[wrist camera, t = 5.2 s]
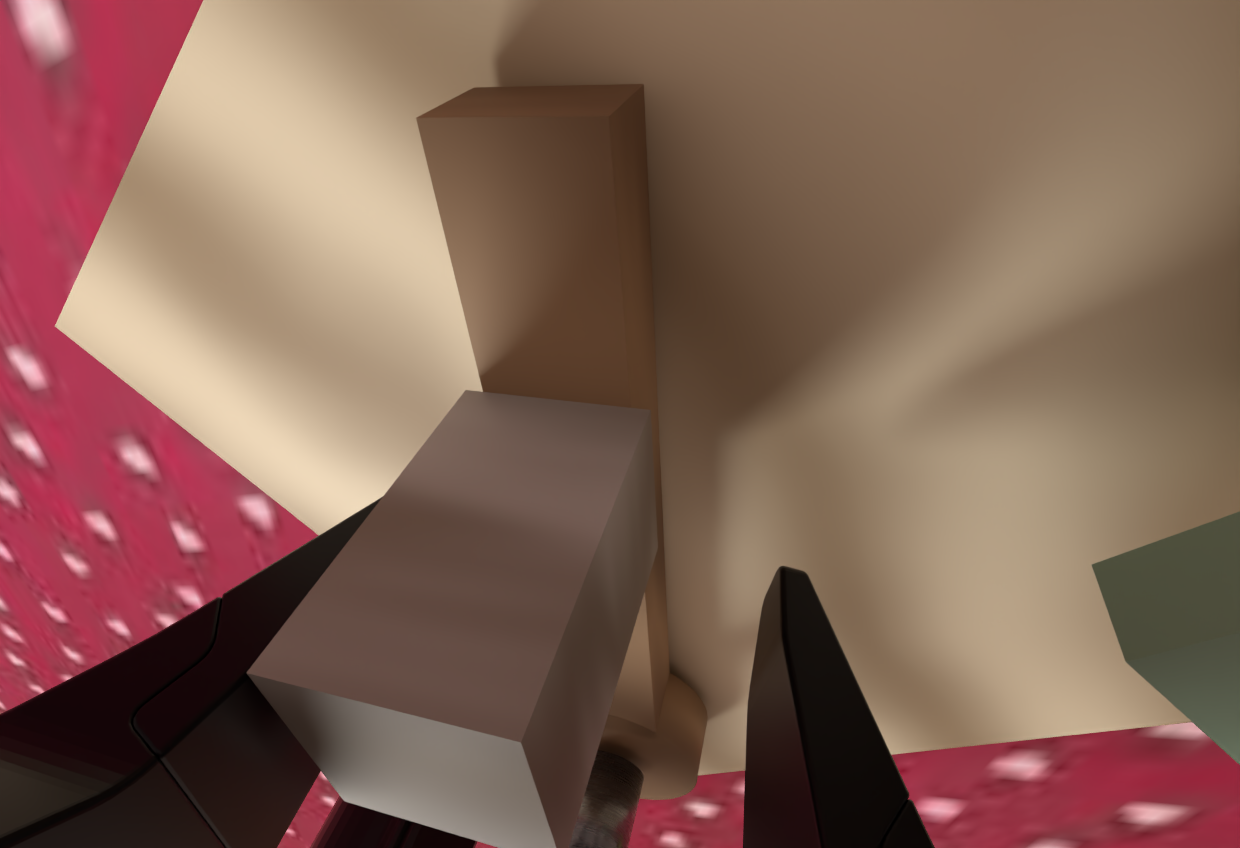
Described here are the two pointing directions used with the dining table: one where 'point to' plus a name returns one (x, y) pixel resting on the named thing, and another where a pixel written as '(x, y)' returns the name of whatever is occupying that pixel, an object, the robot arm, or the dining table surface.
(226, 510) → the dining table surface
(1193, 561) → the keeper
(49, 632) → the dining table surface
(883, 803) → the robot arm
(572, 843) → the knob
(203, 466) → the dining table surface
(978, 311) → the base plate
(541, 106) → the link
